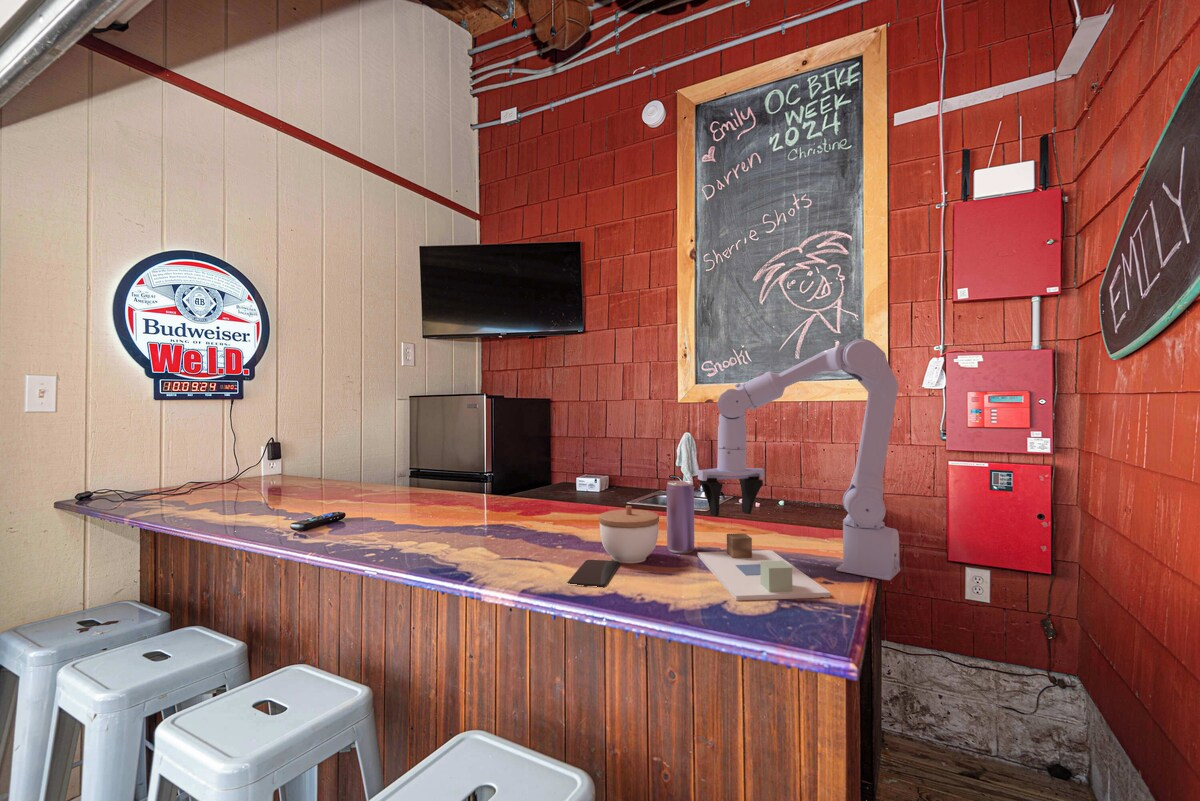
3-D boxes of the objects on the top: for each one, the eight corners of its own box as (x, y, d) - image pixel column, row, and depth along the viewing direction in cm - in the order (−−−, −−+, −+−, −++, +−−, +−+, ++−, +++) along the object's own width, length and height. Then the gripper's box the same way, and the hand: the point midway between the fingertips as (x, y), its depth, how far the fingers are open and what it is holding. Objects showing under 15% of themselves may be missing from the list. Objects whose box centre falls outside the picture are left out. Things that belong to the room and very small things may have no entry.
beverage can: (694, 554, 117) (693, 484, 117) (666, 553, 118) (665, 484, 118) (694, 547, 123) (694, 480, 123) (668, 546, 124) (667, 480, 124)
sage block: (782, 583, 96) (782, 560, 96) (792, 591, 92) (792, 567, 92) (760, 584, 96) (760, 561, 96) (769, 592, 92) (769, 568, 92)
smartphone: (605, 590, 97) (621, 564, 112) (605, 585, 97) (621, 560, 112) (565, 587, 99) (585, 562, 113) (565, 583, 99) (585, 558, 113)
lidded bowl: (657, 568, 108) (657, 512, 108) (594, 566, 110) (594, 511, 110) (661, 551, 120) (660, 501, 120) (604, 549, 122) (603, 500, 122)
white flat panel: (771, 553, 117) (771, 549, 117) (830, 597, 91) (830, 591, 91) (697, 555, 116) (697, 551, 116) (736, 600, 90) (736, 595, 90)
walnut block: (745, 552, 116) (745, 533, 116) (751, 557, 112) (751, 538, 112) (726, 552, 115) (726, 533, 115) (732, 558, 111) (732, 538, 111)
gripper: (750, 445, 119) (749, 508, 119) (691, 446, 114) (689, 512, 114) (770, 449, 112) (769, 515, 112) (708, 450, 107) (707, 519, 107)
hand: (730, 514), depth 113 cm, fingers open, 7 cm apart
